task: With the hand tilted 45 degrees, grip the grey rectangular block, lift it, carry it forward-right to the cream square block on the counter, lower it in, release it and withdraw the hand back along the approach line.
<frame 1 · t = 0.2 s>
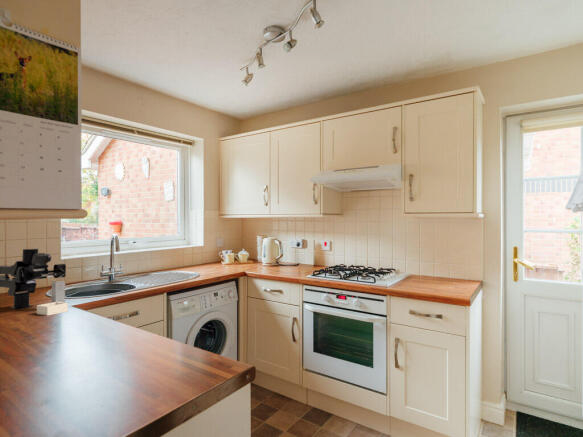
hand: (53, 273, 145), 16 cm above the table, tool horizontal, fingers open, 9 cm apart
cream square block: (52, 312, 143), on the table
grey rectangular block: (58, 308, 152), on the table
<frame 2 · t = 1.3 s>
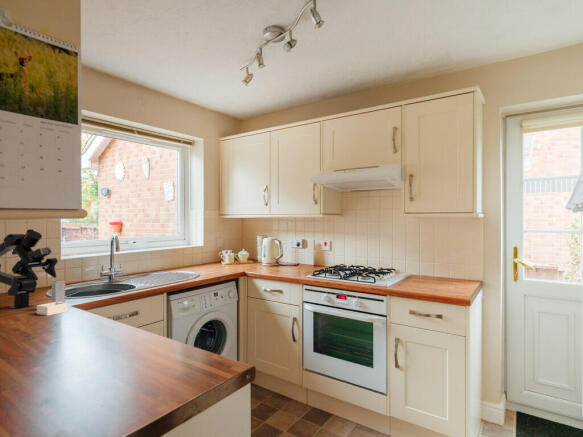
hand: (46, 278, 154), 13 cm above the table, tool tilted 45°, fingers open, 9 cm apart
nothing on the table moved.
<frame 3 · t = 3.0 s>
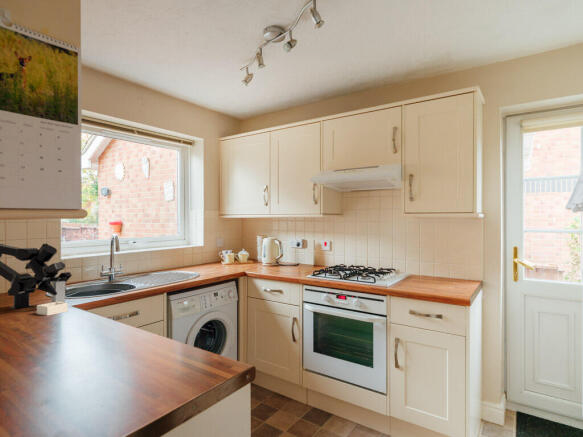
hand: (61, 293, 152), 7 cm above the table, tool tilted 45°, fingers closed on grey rectangular block, 5 cm apart
grey rectangular block: (58, 308, 152), on the table, touching gripper
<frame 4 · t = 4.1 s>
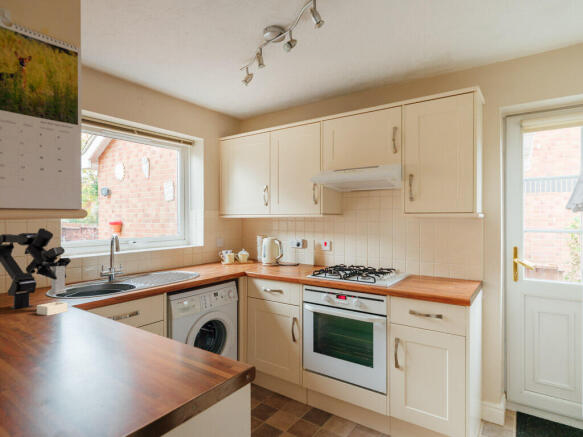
hand: (60, 278, 150), 14 cm above the table, tool tilted 45°, fingers closed on grey rectangular block, 5 cm apart
grey rectangular block: (58, 293, 150), point 7 cm above the table, touching gripper
when the fingers open (8 cm above the table, at t = 5.7 s): grey rectangular block drops 2 cm, resting in cream square block.
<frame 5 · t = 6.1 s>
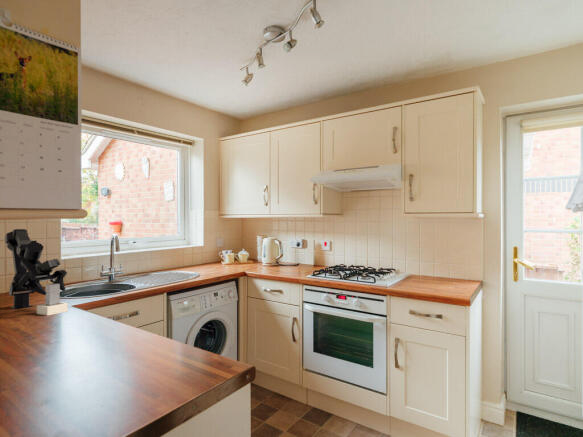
hand: (55, 292, 144), 9 cm above the table, tool tilted 45°, fingers open, 9 cm apart
grey rectangular block: (52, 312, 144), resting in cream square block
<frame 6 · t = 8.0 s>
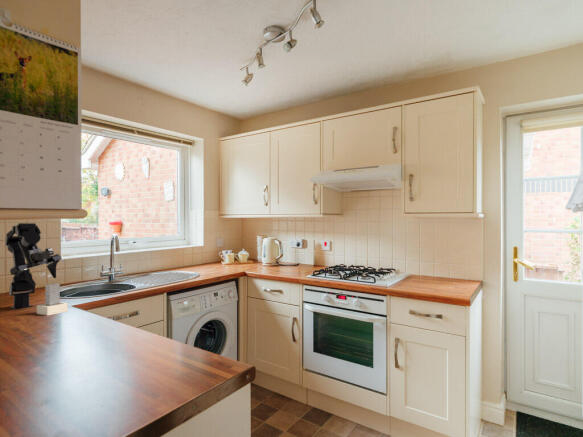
hand: (44, 281, 149), 13 cm above the table, tool tilted 25°, fingers open, 9 cm apart
nothing on the table moved.
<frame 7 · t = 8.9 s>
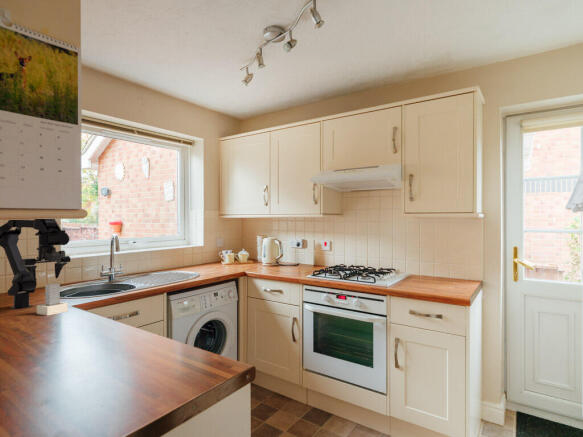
hand: (45, 279, 153), 13 cm above the table, tool pointing down, fingers open, 9 cm apart
nothing on the table moved.
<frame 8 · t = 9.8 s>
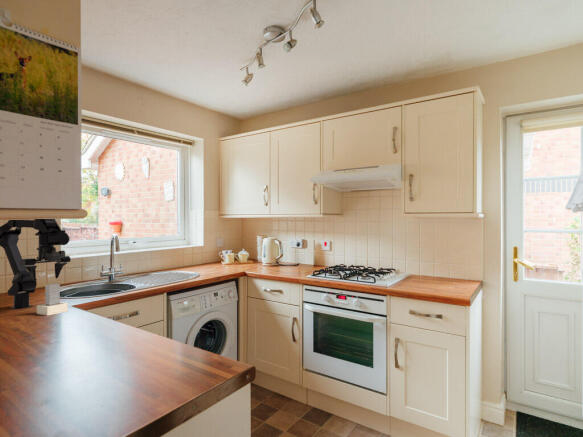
hand: (45, 279, 153), 13 cm above the table, tool pointing down, fingers open, 9 cm apart
nothing on the table moved.
at the end: grey rectangular block inside the target area (0.2 cm from its centre), resting in cream square block; grey rectangular block tilted 0°; the gripper is holding nothing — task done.
